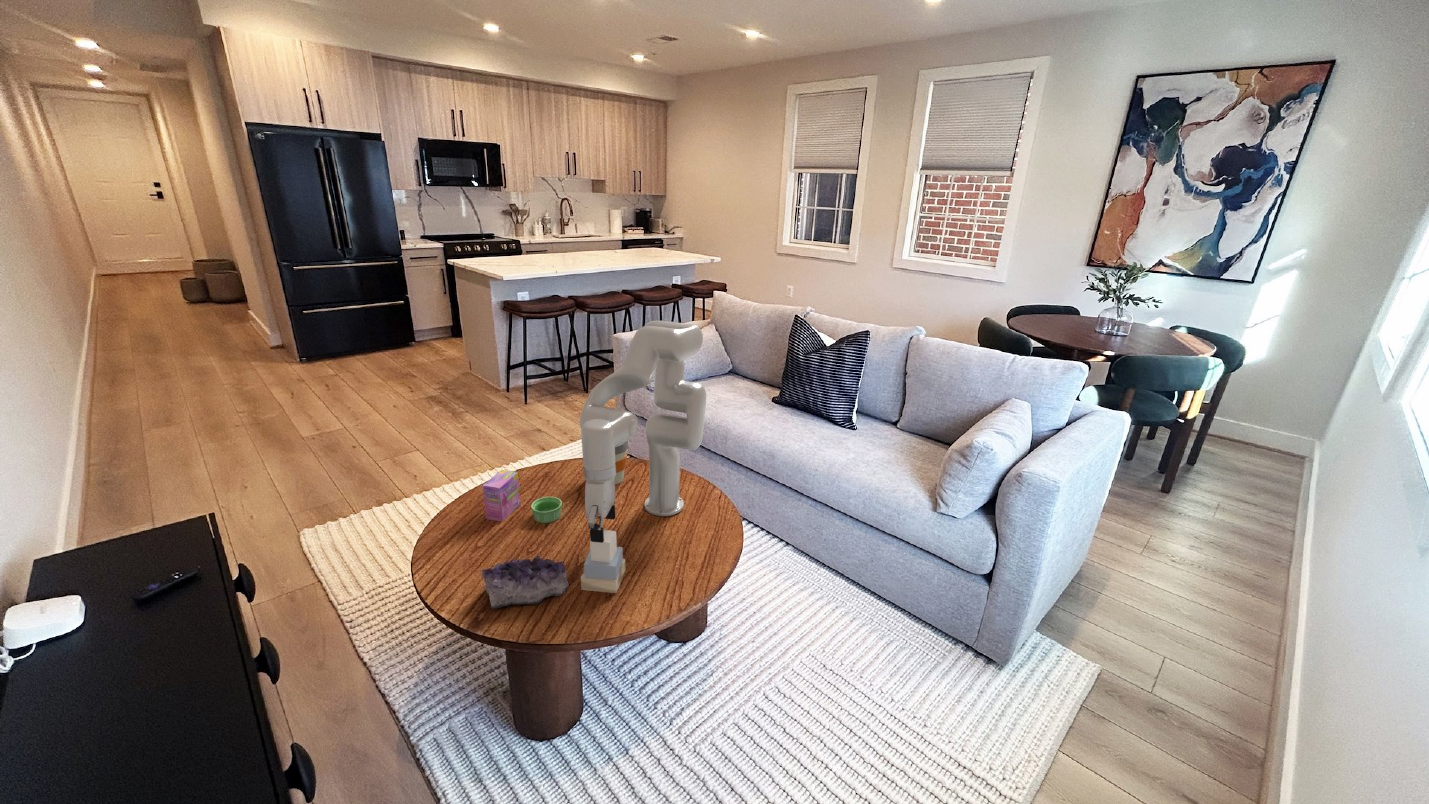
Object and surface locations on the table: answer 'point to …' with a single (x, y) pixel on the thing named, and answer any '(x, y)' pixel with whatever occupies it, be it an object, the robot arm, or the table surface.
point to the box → (501, 495)
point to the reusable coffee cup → (620, 461)
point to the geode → (524, 581)
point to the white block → (604, 547)
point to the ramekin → (546, 509)
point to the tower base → (603, 582)
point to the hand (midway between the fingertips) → (603, 529)
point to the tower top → (603, 566)
